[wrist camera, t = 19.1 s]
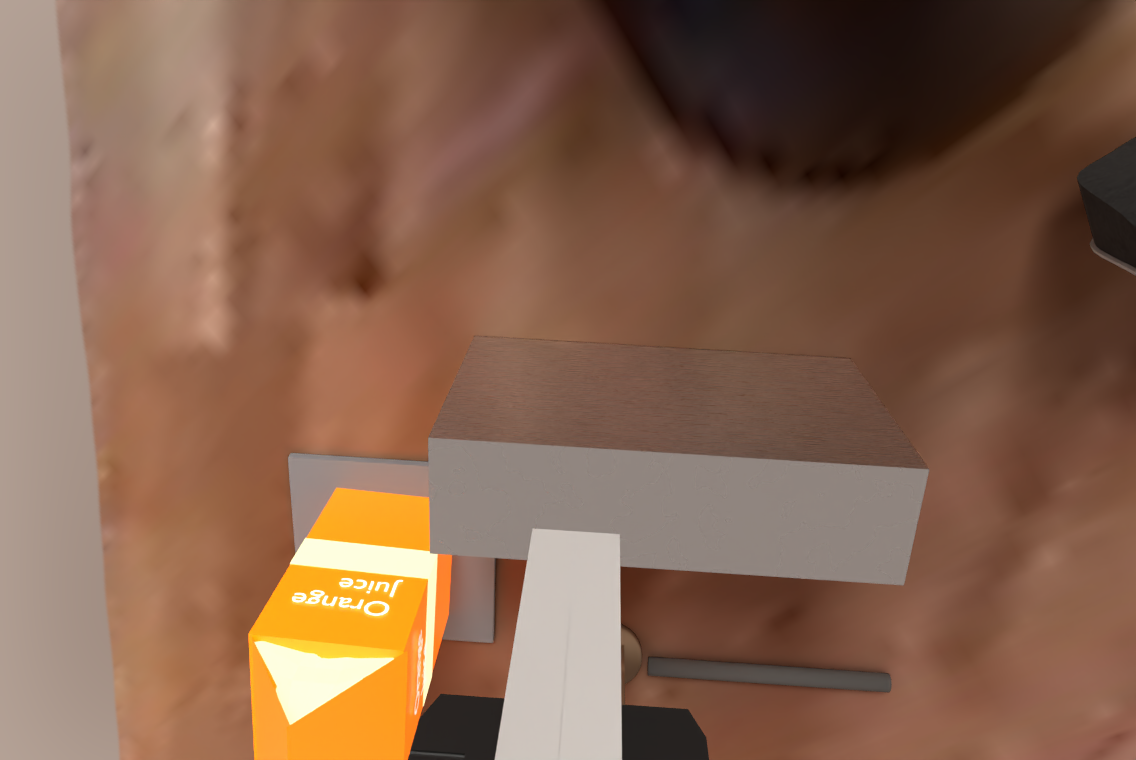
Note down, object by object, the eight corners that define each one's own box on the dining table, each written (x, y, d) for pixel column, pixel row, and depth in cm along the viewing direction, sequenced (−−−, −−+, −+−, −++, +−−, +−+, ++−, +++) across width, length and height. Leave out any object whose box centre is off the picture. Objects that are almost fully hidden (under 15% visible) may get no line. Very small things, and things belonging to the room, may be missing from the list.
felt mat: (291, 452, 56) (287, 457, 56) (497, 466, 56) (496, 470, 55) (304, 624, 61) (301, 629, 60) (494, 637, 60) (493, 643, 60)
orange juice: (334, 603, 59) (207, 866, 41) (334, 486, 56) (195, 714, 38) (451, 615, 59) (377, 885, 41) (458, 499, 56) (380, 734, 37)
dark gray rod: (648, 652, 60) (649, 664, 59) (887, 669, 60) (892, 681, 59) (647, 667, 61) (647, 679, 60) (884, 683, 60) (889, 696, 59)
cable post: (569, 617, 60) (554, 814, 45) (644, 623, 59) (653, 822, 45) (565, 678, 61) (549, 886, 47) (638, 683, 61) (645, 893, 46)
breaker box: (474, 335, 53) (428, 437, 40) (850, 358, 52) (929, 469, 39) (473, 440, 55) (429, 567, 42) (832, 462, 54) (900, 599, 41)
